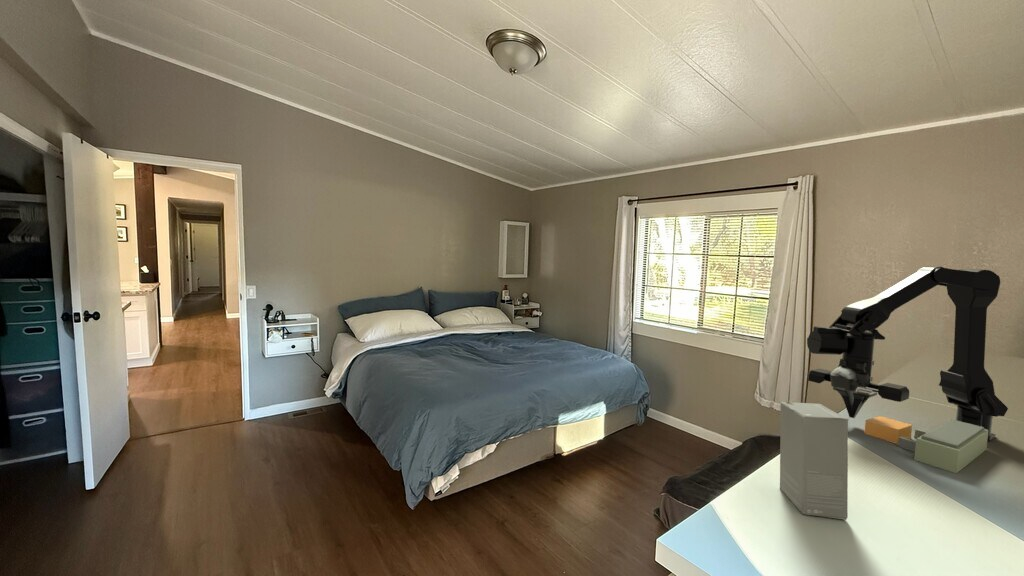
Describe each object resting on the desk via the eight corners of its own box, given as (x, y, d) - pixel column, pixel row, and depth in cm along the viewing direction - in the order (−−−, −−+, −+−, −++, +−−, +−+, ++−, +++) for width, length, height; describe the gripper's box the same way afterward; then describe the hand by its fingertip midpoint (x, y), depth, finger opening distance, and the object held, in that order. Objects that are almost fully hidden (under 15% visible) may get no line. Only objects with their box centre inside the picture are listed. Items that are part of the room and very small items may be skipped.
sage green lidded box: (923, 432, 98) (925, 412, 98) (986, 449, 90) (988, 427, 89) (888, 451, 87) (891, 428, 87) (956, 473, 78) (959, 447, 78)
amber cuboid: (878, 429, 100) (879, 415, 100) (910, 439, 95) (912, 424, 94) (864, 434, 97) (865, 420, 96) (897, 444, 91) (898, 429, 91)
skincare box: (848, 522, 62) (857, 420, 61) (796, 515, 63) (803, 415, 62) (818, 491, 70) (825, 402, 69) (772, 486, 72) (779, 398, 71)
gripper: (799, 351, 104) (794, 410, 105) (894, 368, 88) (888, 438, 89) (819, 347, 110) (815, 403, 111) (912, 363, 94) (906, 428, 95)
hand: (852, 417), depth 101 cm, fingers closed
